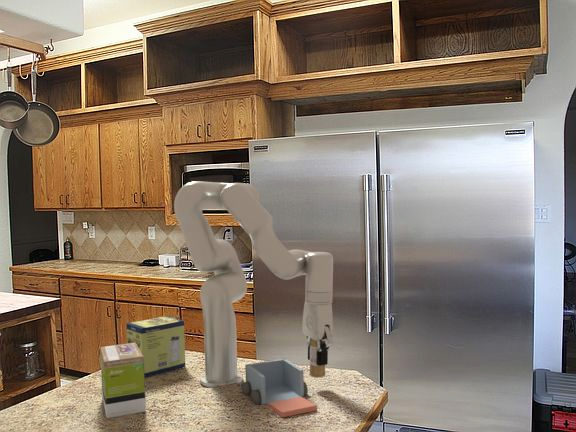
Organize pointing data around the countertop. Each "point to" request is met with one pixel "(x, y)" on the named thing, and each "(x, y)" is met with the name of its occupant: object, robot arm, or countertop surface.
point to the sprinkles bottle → (315, 369)
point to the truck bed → (273, 381)
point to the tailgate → (292, 406)
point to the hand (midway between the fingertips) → (317, 361)
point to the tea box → (122, 380)
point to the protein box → (159, 343)
